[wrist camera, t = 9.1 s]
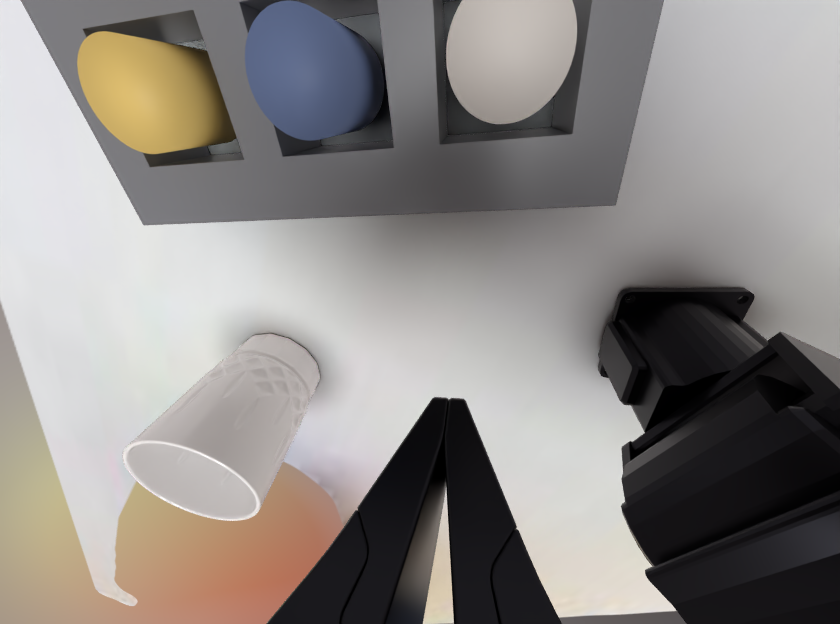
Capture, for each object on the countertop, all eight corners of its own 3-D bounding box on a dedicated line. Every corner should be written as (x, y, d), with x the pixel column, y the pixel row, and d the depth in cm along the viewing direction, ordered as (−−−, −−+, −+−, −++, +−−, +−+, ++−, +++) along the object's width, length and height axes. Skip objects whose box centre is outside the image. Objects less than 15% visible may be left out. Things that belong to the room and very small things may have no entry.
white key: (556, -6, 11) (588, -50, 8) (543, 114, 13) (565, 118, 10) (453, 9, 12) (443, -26, 9) (455, 122, 14) (448, 128, 10)
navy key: (376, 20, 12) (340, -9, 9) (389, 128, 14) (362, 136, 11) (290, 33, 13) (226, 10, 10) (314, 134, 15) (267, 144, 12)
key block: (645, -136, 11) (720, -243, 7) (587, 184, 16) (615, 205, 13) (99, -25, 14) (-14, -63, 11) (199, 204, 20) (143, 225, 16)
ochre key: (227, 42, 13) (145, 23, 10) (257, 139, 15) (196, 150, 12) (154, 54, 14) (54, 39, 11) (191, 145, 16) (117, 157, 13)
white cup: (345, 366, 25) (281, 494, 17) (302, 411, 29) (233, 533, 21) (255, 307, 24) (134, 419, 15) (222, 364, 28) (112, 477, 19)
